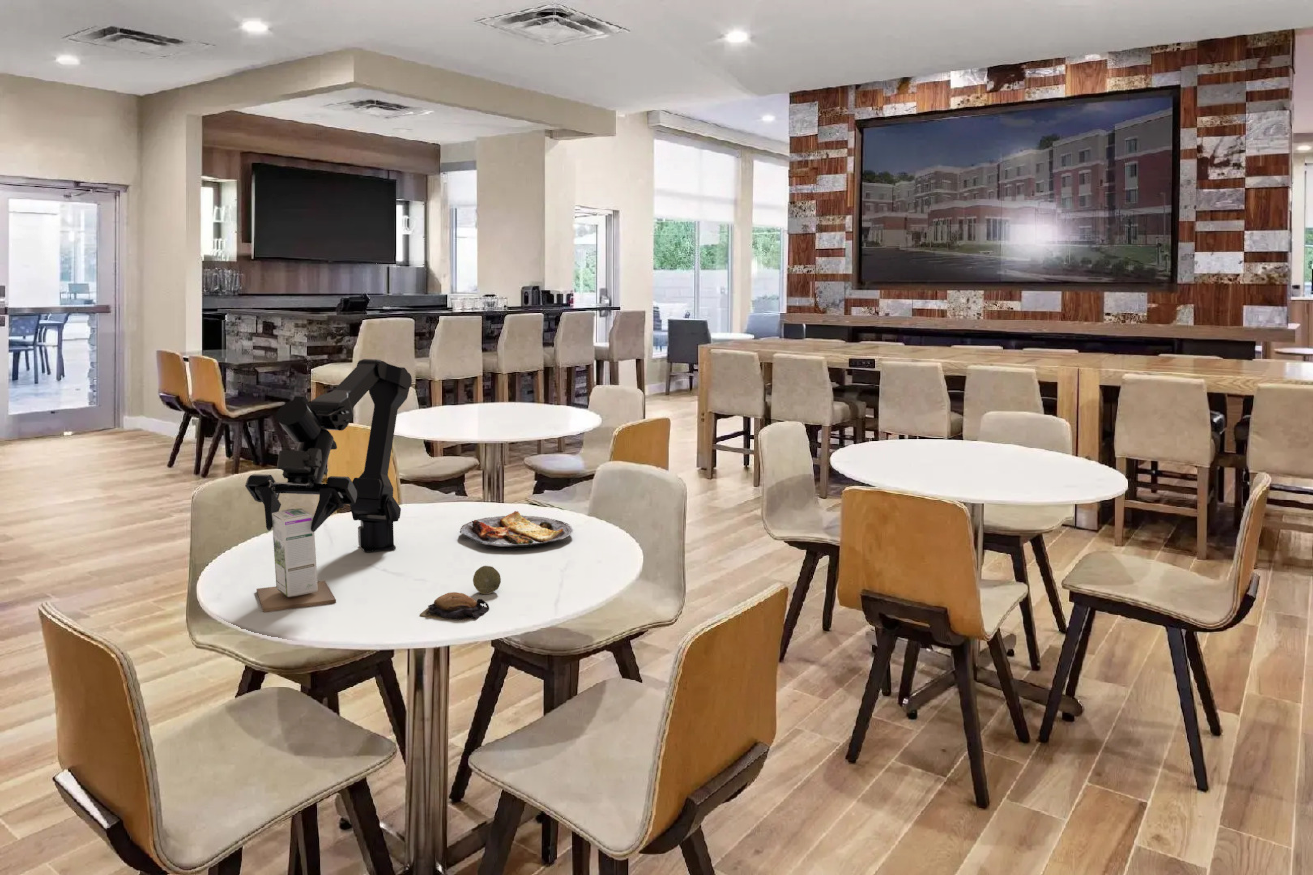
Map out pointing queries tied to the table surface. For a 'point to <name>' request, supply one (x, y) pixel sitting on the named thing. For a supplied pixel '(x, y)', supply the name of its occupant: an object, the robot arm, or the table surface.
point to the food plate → (516, 530)
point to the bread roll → (455, 607)
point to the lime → (486, 579)
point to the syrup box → (294, 552)
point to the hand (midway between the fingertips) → (290, 530)
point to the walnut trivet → (294, 598)
